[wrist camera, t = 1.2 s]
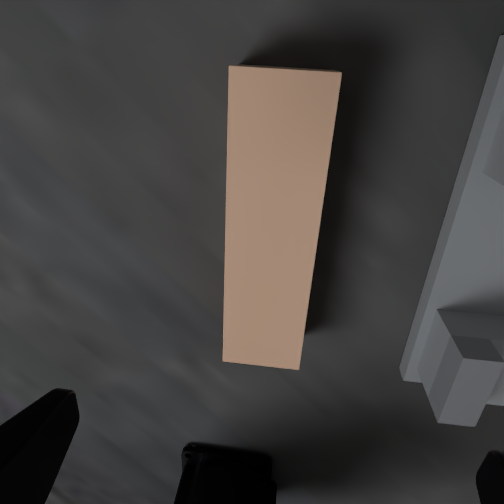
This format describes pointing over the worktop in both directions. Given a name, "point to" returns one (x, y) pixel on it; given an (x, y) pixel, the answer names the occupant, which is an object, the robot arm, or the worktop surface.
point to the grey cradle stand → (467, 278)
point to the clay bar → (274, 206)
